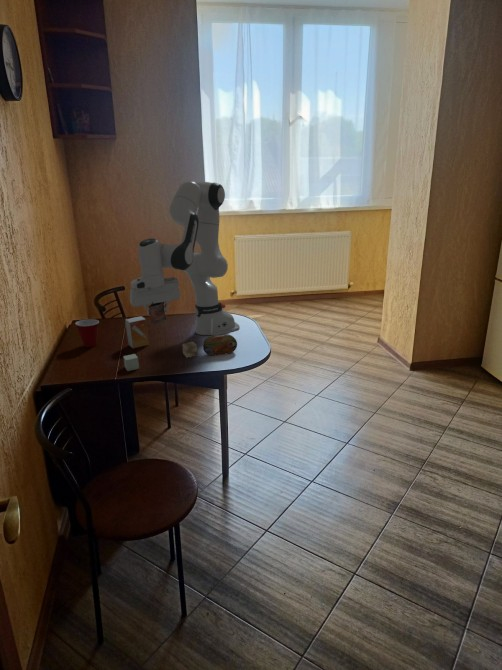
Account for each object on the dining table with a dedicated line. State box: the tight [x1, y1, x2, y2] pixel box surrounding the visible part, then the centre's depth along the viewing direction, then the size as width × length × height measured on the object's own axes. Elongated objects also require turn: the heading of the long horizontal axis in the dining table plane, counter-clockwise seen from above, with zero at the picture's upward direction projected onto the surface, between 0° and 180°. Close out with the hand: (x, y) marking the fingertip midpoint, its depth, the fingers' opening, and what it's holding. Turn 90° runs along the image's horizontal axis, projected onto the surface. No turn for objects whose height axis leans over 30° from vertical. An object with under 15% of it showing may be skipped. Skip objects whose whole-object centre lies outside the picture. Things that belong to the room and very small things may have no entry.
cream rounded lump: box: [181, 341, 199, 359], centre depth 207 cm, size 5×5×5 cm
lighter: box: [147, 301, 167, 325], centre depth 192 cm, size 8×3×10 cm, turn 148°
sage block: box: [123, 353, 140, 372], centre depth 196 cm, size 5×5×5 cm
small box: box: [124, 315, 150, 349], centre depth 220 cm, size 8×6×13 cm
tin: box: [202, 334, 238, 357], centre depth 206 cm, size 15×3×8 cm, turn 101°
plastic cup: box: [74, 318, 100, 348], centre depth 223 cm, size 11×11×12 cm
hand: (157, 312), depth 193 cm, fingers closed on lighter, 5 cm apart
